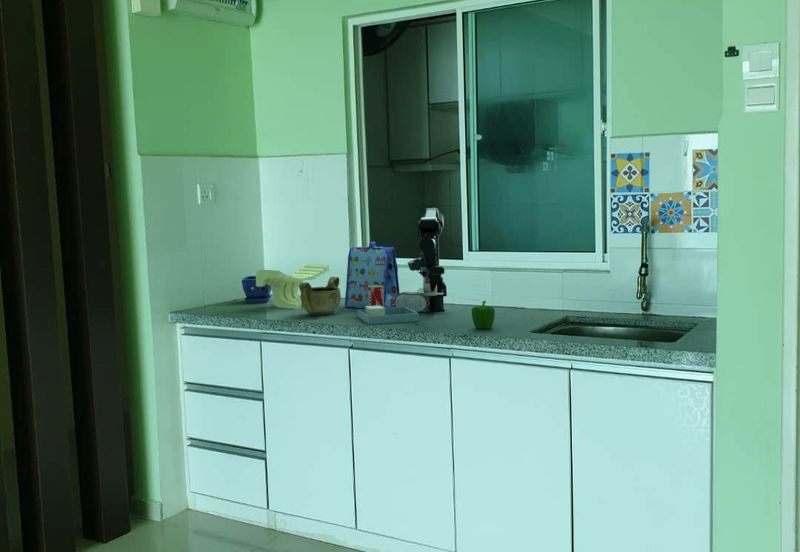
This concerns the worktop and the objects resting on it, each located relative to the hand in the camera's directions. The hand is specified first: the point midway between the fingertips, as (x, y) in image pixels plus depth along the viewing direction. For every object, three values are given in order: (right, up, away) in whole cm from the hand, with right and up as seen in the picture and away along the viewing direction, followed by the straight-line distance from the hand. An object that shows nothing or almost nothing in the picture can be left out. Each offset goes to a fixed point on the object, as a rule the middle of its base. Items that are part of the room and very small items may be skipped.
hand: (430, 290), depth 322 cm
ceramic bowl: (-45, -11, +25) cm, 52 cm away
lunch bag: (-24, -8, +44) cm, 50 cm away
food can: (0, -2, 0) cm, 2 cm away
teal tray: (-17, -12, +5) cm, 21 cm away
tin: (-7, -10, +25) cm, 28 cm away
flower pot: (-79, -7, +71) cm, 107 cm away
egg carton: (-22, -12, +4) cm, 25 cm away
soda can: (-22, -11, +20) cm, 32 cm away
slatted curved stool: (-60, -8, +54) cm, 81 cm away
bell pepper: (+19, -14, -19) cm, 30 cm away
